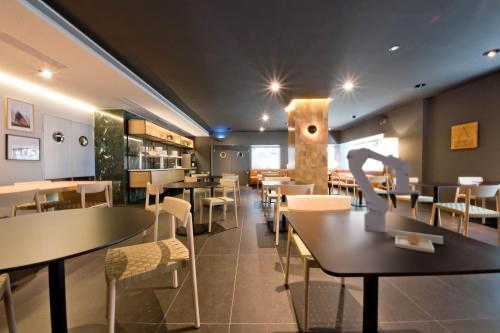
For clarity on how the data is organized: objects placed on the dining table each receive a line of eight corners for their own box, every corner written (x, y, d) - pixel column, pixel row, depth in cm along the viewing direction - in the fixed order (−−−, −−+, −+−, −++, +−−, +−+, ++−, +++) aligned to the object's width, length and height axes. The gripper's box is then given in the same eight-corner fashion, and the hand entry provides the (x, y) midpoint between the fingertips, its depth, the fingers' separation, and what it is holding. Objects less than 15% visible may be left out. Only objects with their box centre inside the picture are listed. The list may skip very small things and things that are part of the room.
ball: (406, 244, 85) (406, 234, 85) (406, 241, 88) (406, 231, 88) (420, 247, 82) (420, 236, 82) (419, 243, 86) (419, 232, 86)
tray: (395, 246, 84) (395, 243, 84) (395, 238, 94) (395, 235, 94) (434, 253, 77) (434, 249, 77) (430, 243, 87) (430, 240, 87)
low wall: (390, 236, 96) (390, 230, 96) (390, 235, 97) (390, 229, 97) (443, 244, 85) (443, 237, 85) (442, 243, 86) (442, 236, 86)
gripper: (387, 183, 108) (389, 209, 108) (422, 182, 102) (423, 210, 102) (385, 182, 115) (386, 206, 115) (417, 181, 109) (418, 207, 109)
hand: (403, 208), depth 109 cm, fingers open, 7 cm apart
